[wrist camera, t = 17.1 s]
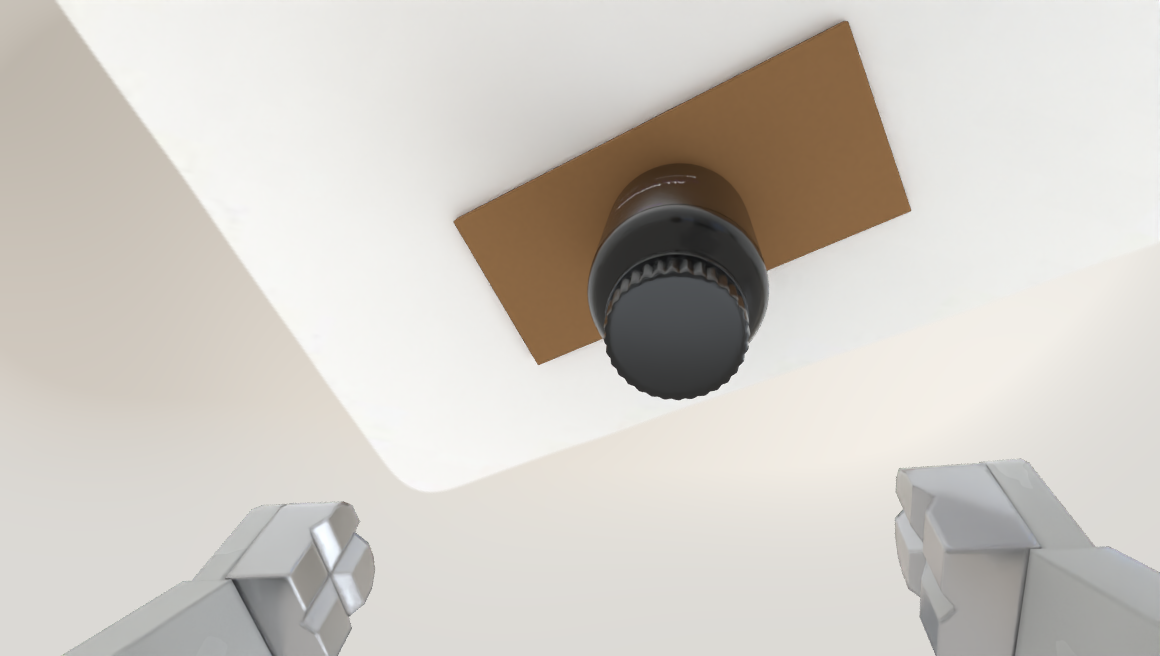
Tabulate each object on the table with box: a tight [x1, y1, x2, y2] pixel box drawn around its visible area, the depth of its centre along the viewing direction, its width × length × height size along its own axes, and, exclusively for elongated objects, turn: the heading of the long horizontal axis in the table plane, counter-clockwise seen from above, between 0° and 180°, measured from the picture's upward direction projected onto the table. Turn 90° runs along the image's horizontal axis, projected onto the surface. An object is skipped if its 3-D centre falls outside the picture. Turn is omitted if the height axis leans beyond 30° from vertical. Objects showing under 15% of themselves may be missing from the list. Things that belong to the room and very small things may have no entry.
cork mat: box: [454, 21, 911, 365], centre depth 32 cm, size 20×9×1 cm, turn 118°
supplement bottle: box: [587, 163, 769, 400], centre depth 27 cm, size 7×7×12 cm
